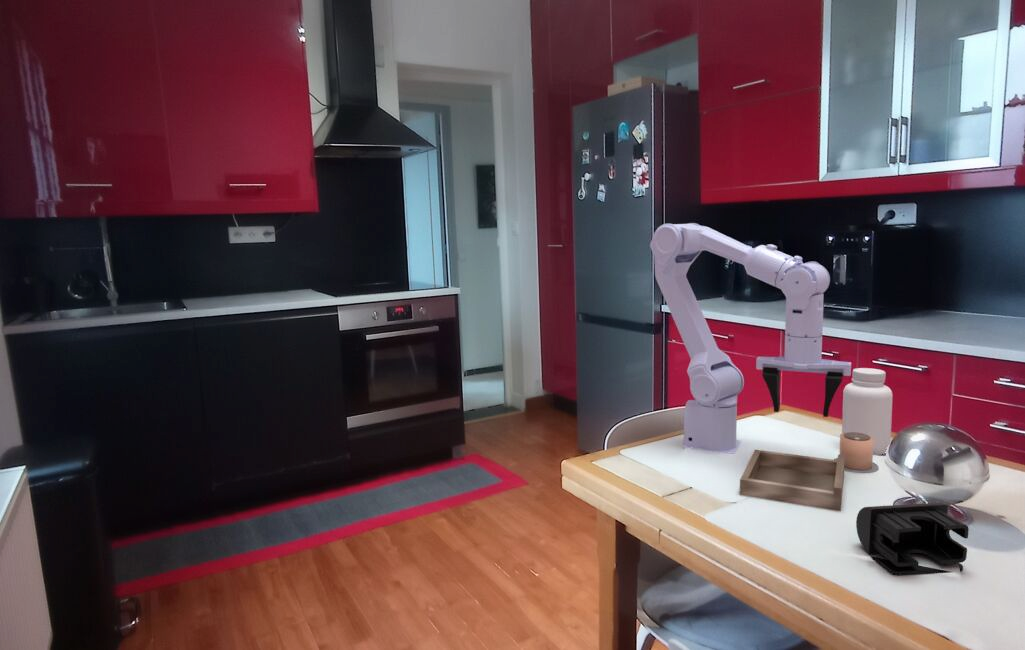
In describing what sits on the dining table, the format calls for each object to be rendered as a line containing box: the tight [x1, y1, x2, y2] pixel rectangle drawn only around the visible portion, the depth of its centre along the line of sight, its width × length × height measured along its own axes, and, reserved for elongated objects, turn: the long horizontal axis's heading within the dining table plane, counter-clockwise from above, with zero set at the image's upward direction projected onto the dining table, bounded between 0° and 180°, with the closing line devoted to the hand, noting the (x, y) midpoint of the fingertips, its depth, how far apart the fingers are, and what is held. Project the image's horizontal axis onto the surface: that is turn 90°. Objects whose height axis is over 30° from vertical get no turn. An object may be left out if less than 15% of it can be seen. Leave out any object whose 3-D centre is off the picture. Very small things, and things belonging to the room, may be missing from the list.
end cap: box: [855, 502, 970, 577], centre depth 79 cm, size 10×7×7 cm
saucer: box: [832, 457, 879, 474], centre depth 109 cm, size 7×7×1 cm
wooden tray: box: [739, 449, 845, 512], centre depth 101 cm, size 14×15×4 cm
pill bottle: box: [841, 367, 893, 456], centre depth 117 cm, size 8×8×15 cm
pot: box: [838, 432, 874, 471], centre depth 108 cm, size 5×5×5 cm
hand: (800, 412), depth 108 cm, fingers open, 7 cm apart
